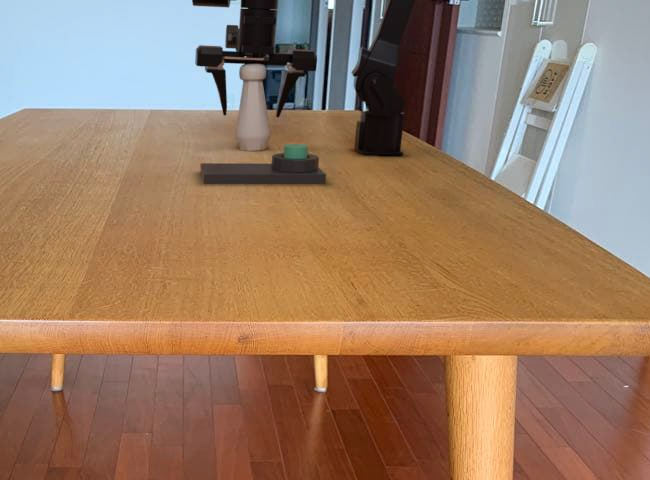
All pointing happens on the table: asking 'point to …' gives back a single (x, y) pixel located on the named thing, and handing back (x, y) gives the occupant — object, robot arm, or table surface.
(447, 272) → the table surface
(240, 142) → the salt shaker
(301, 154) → the button
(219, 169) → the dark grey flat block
